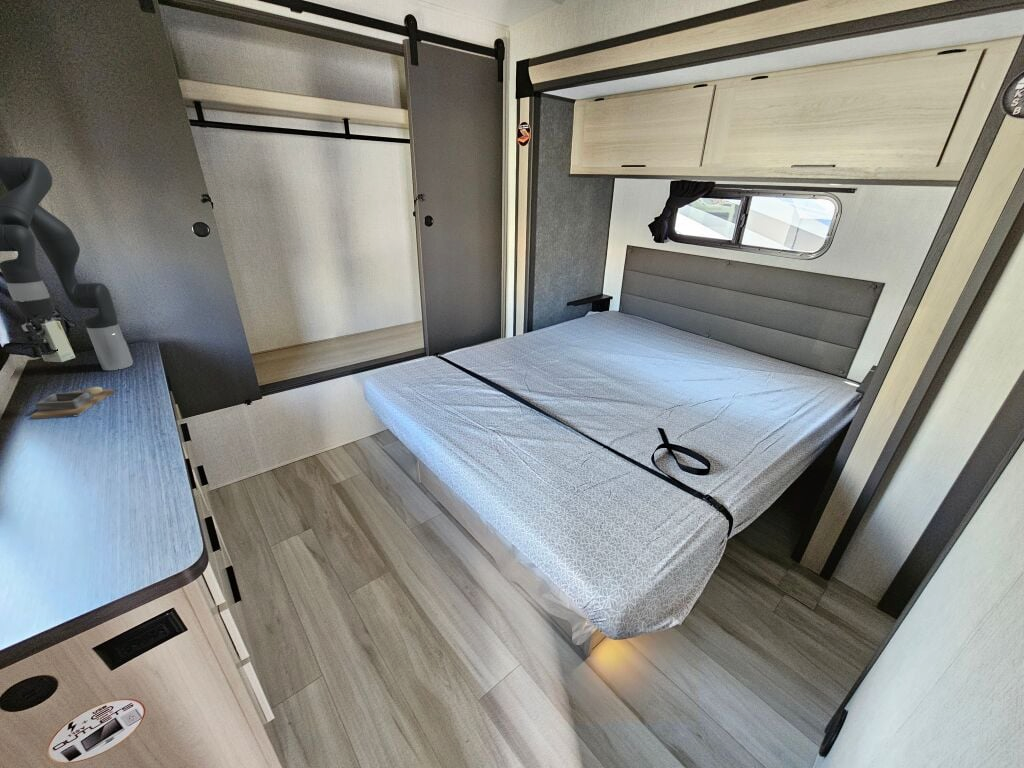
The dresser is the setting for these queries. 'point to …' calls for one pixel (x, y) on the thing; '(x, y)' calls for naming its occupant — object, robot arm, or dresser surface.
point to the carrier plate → (69, 402)
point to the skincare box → (57, 342)
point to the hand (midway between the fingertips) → (54, 350)
